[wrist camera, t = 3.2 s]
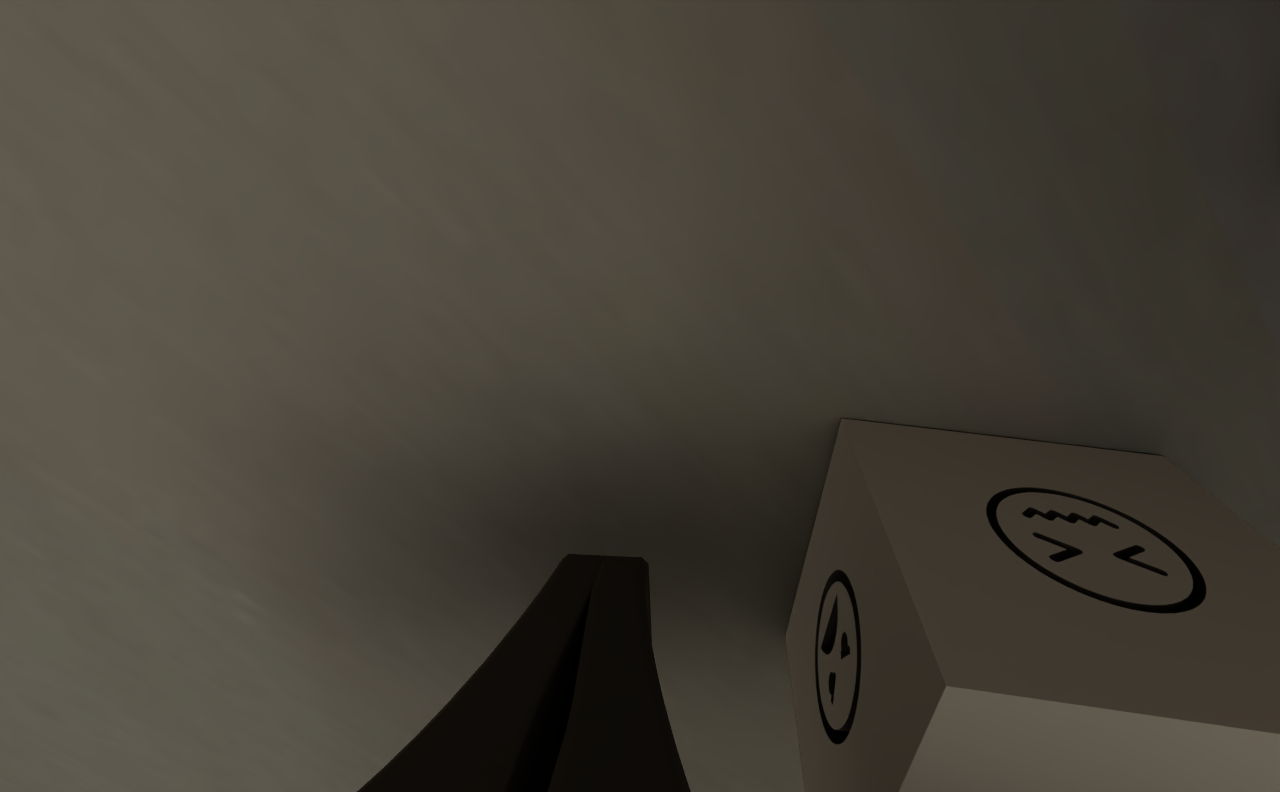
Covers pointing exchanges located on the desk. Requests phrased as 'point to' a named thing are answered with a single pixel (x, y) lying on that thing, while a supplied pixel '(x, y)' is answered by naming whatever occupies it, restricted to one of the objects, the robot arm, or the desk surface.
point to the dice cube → (1030, 623)
